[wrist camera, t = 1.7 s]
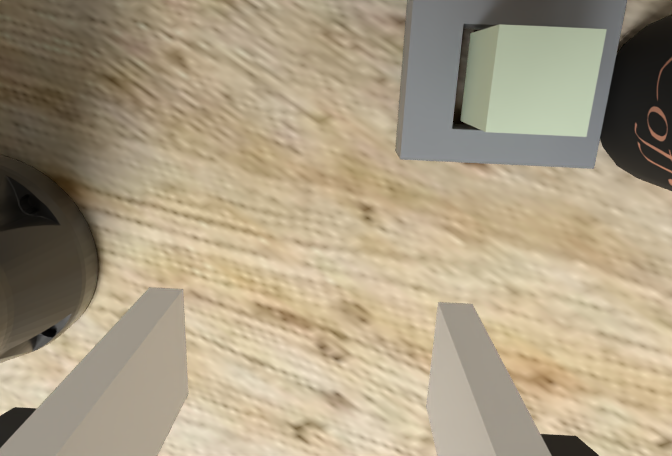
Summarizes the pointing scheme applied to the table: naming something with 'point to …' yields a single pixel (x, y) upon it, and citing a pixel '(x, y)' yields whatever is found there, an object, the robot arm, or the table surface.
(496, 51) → the sage button
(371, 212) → the table surface
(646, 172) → the coffee jar
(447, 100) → the slate panel
